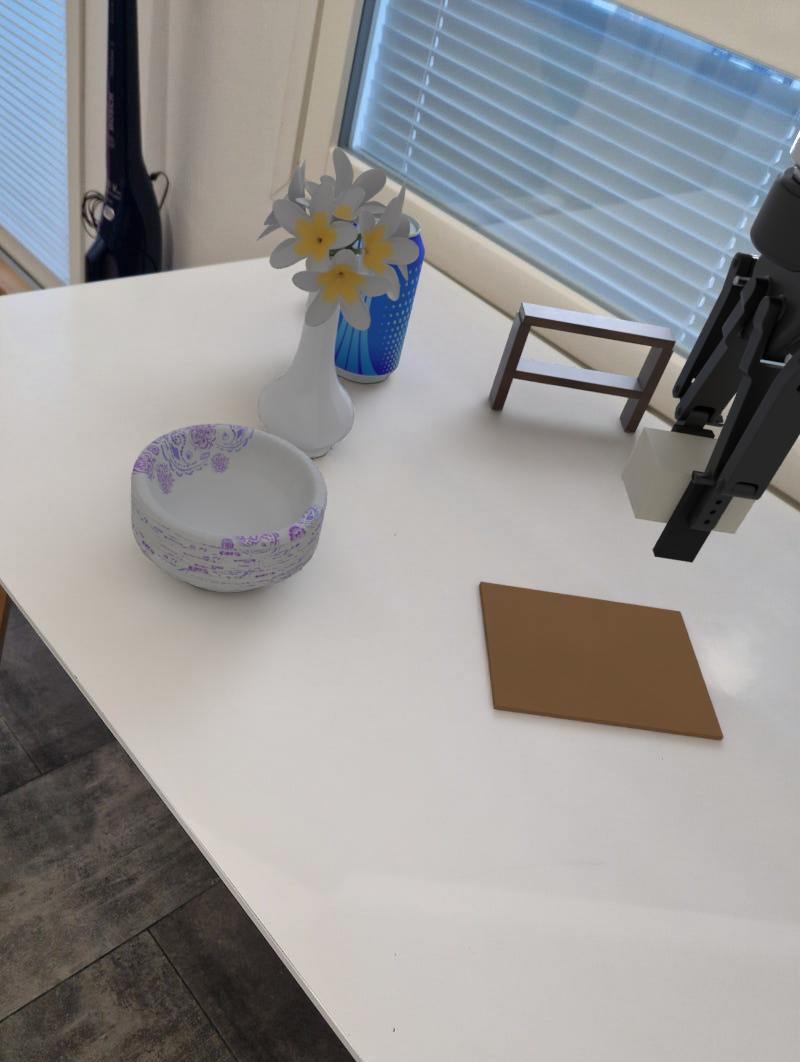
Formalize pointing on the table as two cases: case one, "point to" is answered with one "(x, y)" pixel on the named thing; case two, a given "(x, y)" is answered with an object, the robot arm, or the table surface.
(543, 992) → the table surface
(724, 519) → the white cardboard box
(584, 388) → the rack
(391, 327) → the beer can
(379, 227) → the flower vase
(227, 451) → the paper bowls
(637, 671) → the mat
